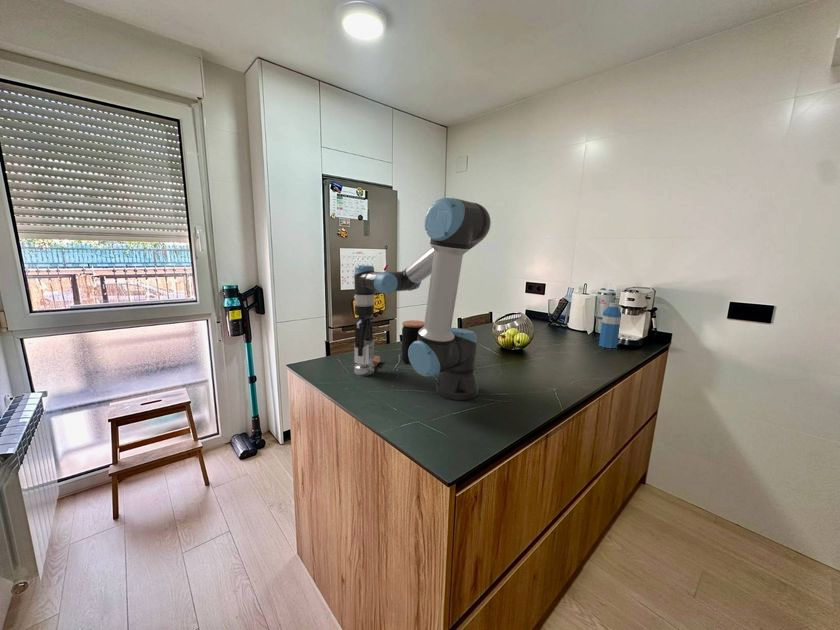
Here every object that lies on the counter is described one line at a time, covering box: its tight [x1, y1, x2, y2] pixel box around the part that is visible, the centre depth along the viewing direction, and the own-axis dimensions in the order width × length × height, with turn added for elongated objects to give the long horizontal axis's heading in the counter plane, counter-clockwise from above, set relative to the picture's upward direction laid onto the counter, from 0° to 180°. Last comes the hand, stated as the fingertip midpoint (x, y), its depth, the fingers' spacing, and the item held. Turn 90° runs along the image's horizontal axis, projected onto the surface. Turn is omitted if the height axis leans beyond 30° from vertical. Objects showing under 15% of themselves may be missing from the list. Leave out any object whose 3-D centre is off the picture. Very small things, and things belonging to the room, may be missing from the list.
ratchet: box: [354, 355, 381, 377], centre depth 140 cm, size 18×8×7 cm, turn 168°
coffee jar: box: [401, 320, 425, 365], centre depth 150 cm, size 11×11×18 cm
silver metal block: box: [353, 340, 375, 364], centre depth 134 cm, size 6×6×8 cm
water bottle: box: [598, 302, 622, 349], centre depth 182 cm, size 9×9×25 cm
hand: (364, 360), depth 135 cm, fingers closed on silver metal block, 6 cm apart
